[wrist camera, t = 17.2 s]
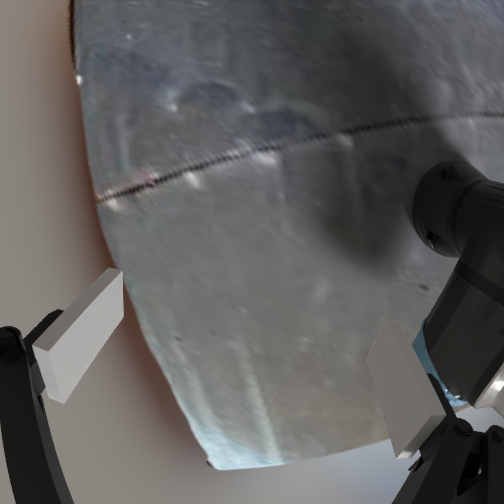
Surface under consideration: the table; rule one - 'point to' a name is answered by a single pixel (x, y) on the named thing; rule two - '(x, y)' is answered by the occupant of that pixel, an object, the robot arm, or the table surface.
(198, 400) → the table surface
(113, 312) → the robot arm
